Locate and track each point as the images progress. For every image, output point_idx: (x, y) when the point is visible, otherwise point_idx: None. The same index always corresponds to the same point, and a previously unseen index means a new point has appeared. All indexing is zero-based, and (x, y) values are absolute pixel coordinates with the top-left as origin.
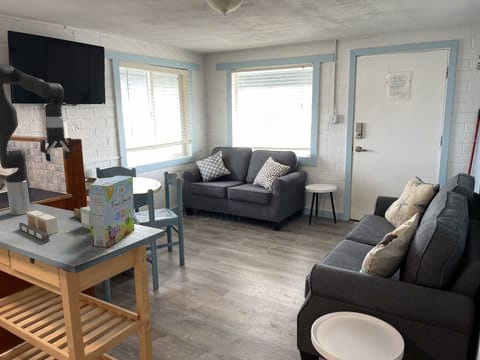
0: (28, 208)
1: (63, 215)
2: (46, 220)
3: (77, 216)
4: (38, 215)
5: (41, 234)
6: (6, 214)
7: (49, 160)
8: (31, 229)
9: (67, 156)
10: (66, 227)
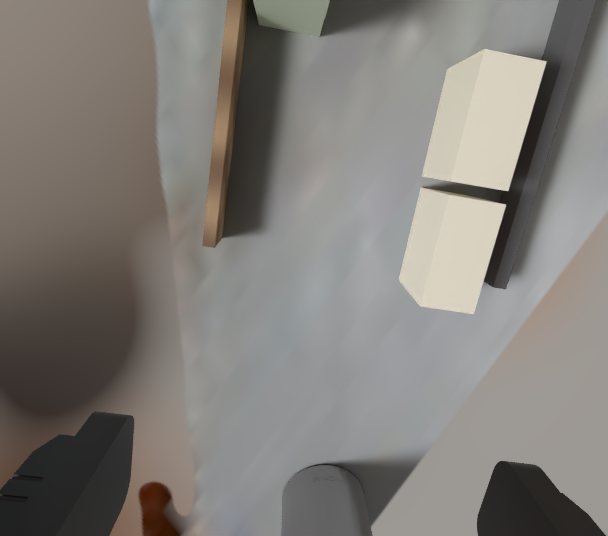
0: (305, 485)
1: (244, 299)
2: (543, 61)
3: (225, 205)
4: (488, 201)
5: (587, 17)
6: None
7: (537, 473)
8: (550, 142)
9: (84, 456)
10: (372, 101)
